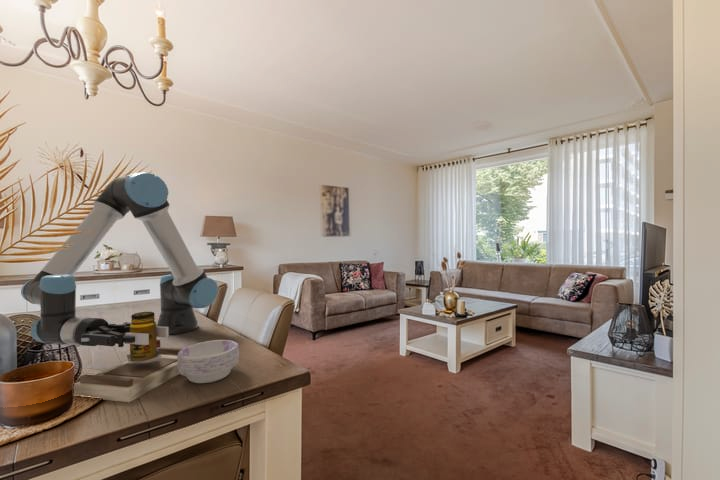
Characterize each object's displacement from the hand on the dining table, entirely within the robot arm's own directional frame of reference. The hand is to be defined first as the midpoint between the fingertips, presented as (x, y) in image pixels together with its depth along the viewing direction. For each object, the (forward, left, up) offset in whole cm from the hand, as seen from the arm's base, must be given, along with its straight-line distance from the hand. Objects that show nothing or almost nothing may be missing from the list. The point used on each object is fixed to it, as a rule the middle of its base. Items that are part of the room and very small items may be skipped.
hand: (157, 335), depth 89 cm
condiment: (-1, -5, -6) cm, 8 cm away
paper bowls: (-4, +12, -12) cm, 18 cm away
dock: (0, -5, -12) cm, 13 cm away
